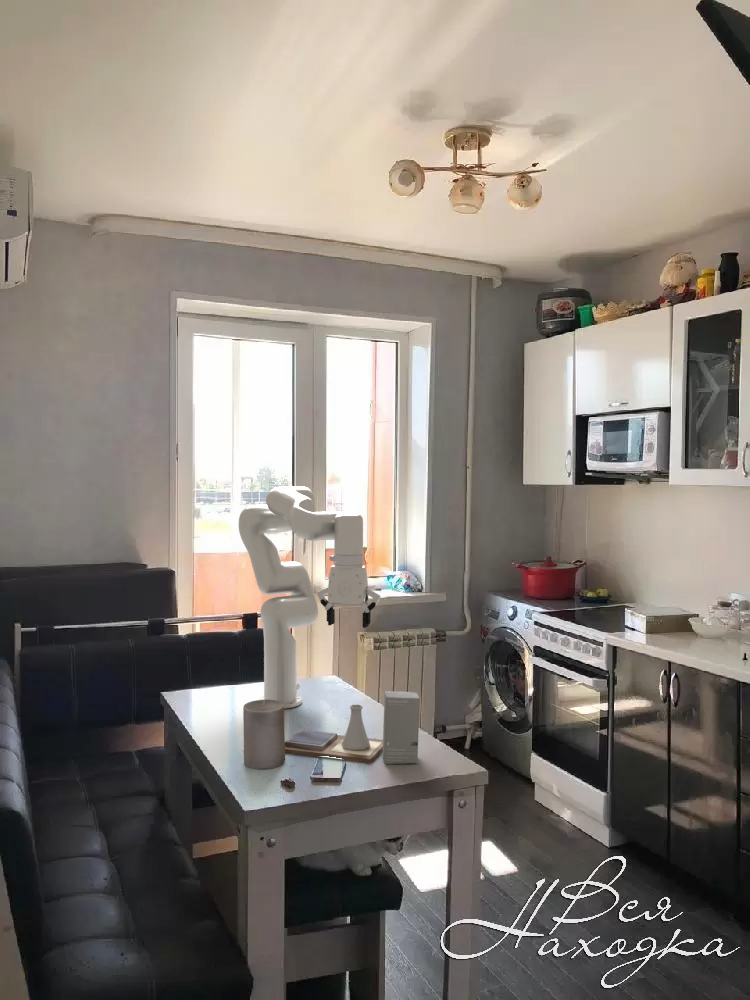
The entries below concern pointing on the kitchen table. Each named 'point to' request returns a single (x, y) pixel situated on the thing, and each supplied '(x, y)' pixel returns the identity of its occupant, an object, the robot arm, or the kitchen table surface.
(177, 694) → the kitchen table surface
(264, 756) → the pillar candle
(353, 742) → the flask
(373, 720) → the kitchen table surface
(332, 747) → the board
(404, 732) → the skincare box
